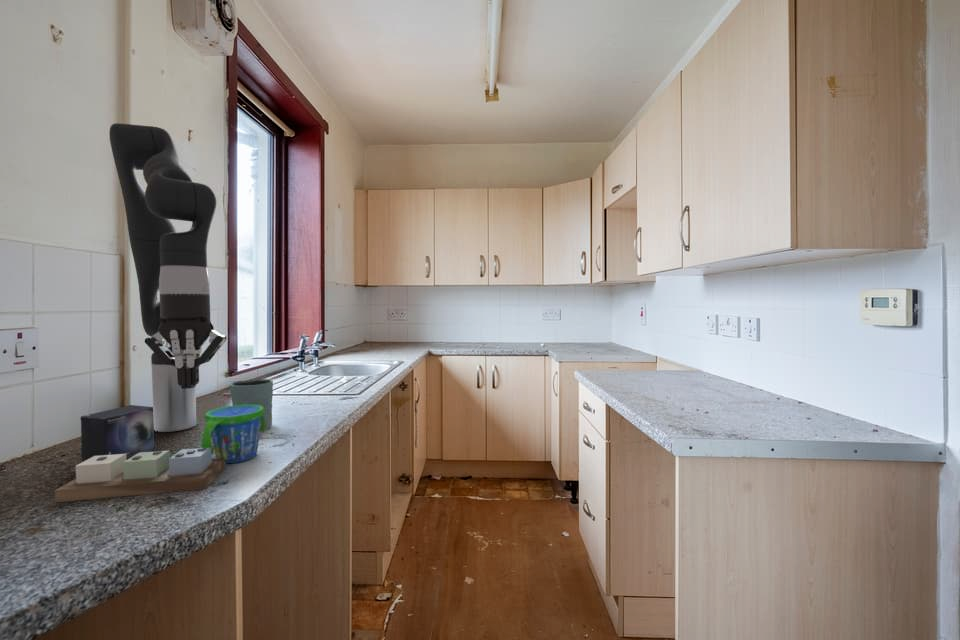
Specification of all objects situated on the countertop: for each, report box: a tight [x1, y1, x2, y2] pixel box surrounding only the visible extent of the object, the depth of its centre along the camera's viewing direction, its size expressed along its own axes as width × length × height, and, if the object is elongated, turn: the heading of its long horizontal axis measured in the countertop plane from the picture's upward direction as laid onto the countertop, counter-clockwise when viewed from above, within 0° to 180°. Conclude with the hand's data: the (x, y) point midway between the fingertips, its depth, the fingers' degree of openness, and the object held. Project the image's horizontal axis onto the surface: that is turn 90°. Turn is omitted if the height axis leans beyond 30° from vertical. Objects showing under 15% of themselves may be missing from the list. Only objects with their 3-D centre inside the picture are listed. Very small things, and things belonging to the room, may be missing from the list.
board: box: [54, 458, 226, 503], centre depth 79 cm, size 10×22×2 cm, turn 102°
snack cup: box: [200, 405, 267, 464], centre depth 91 cm, size 16×10×10 cm
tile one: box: [75, 454, 127, 484], centre depth 77 cm, size 5×5×4 cm
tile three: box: [169, 447, 213, 476], centre depth 80 cm, size 5×5×4 cm
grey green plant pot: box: [229, 378, 274, 429], centre depth 115 cm, size 10×10×12 cm
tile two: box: [123, 450, 171, 480], centre depth 79 cm, size 5×5×4 cm
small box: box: [80, 404, 155, 463], centre depth 91 cm, size 11×6×10 cm, turn 168°
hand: (188, 387), depth 80 cm, fingers closed
